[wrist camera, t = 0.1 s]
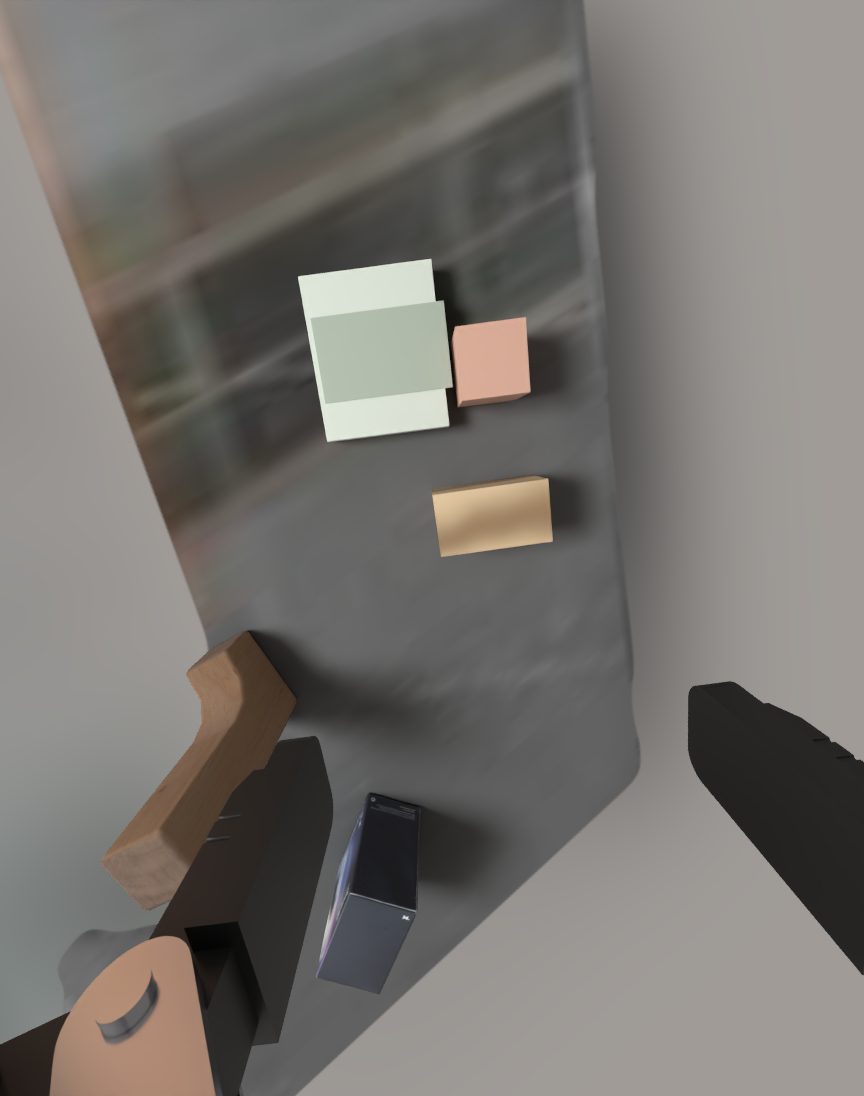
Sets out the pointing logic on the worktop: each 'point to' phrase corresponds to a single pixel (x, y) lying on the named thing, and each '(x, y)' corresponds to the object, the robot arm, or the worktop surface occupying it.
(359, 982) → the small box
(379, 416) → the pad
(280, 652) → the worktop surface
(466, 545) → the tan rectangular block
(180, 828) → the wooden block
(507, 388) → the cube
